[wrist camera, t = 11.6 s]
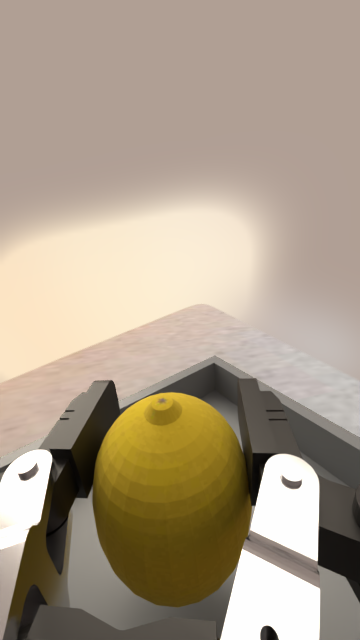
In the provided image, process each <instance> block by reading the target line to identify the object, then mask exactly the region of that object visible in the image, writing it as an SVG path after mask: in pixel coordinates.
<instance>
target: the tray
mask: <svg viewBox="0 0 360 640" xmlns="http://www.w3.org/2000/svg"><path fill="white" fill-rule="evenodd" d="M239 378H253V377H252V376H250V375H248V374H246V373H245V372H243V371H241V370H239V369H238V368H236V367H234V366H232V365H231V364H229V363H227V362H225V361H223V360H222V359H220V358H218V357H216V356H213V357H211V358H209V359H207V360H204V361H202V362H200V363H198V364H196V365H194V366H192V367H190V368H188V369H186V370H183V371H181V372H179V373H177V374H175V375H173V376H171V377H169V378H167V379H164V380H162V381H160V382H158V383H156V384H154V385H152V386H150V387H148V388H146V389H143V390H141V391H139V392H137V393H135V394H133V395H131V396H129V397H127V398H125V399H122V400H120V401H118V402H119V406H120V415H121V414H122V413H123V412H124V411H125V410H127V409H128V408H129V407H130V406H132V405H133V404H135V403H137V402H138V401H140V400H142V399H144V398H146V397H149V396H152V395H156V394H160V393H170V392H173V393H183V394H186V395H190V396H194V397H196V398H198V399H200V400H202V401H204V402H206V403H208V404H209V405H211V406H212V407H213V408H214V409H216V410H217V411H218V412H219V413H220V414H221V415H222V416H223V417H224V418H225V419H226V421H227V422H228V424H229V425H230V426H231V428H232V429H233V431H234V432H235V434H236V436H237V438H238V441H239V443H240V446H241V449H242V442H241V435H240V429H239V422H238V394H237V381H238V379H239ZM257 382H258V385H259V389H260V391H272V392H273V393H274V394H275V395H276V396H277V397H278V398H279V399H280V402H281V404H282V407H283V409H284V412H285V414H286V417H287V421H288V422H289V425H290V427H291V430H292V432H293V435H294V438H295V440H296V443H297V445H298V448H299V450H300V453H301V455H302V458H303V460H304V461H305V462H307V463H308V464H309V465H310V466H311V467H312V468H313V470H314V471H315V472H316V473H317V474H318V475H320V476H321V477H323V478H325V479H327V480H329V481H332V482H335V483H338V484H342V485H345V486H348V487H351V488H354V489H357V487H358V485H359V484H360V438H359V437H358V436H356V435H354V434H352V433H351V432H349V431H347V430H345V429H343V428H342V427H340V426H338V425H336V424H335V423H333V422H331V421H329V420H328V419H326V418H324V417H322V416H321V415H319V414H317V413H315V412H313V411H312V410H310V409H308V408H306V407H305V406H303V405H301V404H299V403H298V402H296V401H294V400H292V399H291V398H289V397H287V396H285V395H283V394H282V393H280V392H278V391H276V390H275V389H273V388H271V387H269V386H268V385H266V384H264V383H262V382H261V381H259V380H257ZM47 436H48V435H47ZM47 436H45V437H43V438H40V439H38V440H36V441H34V442H32V443H30V444H28V445H26V446H24V447H22V448H19V449H17V450H15V451H13V452H11V453H9V454H7V455H5V456H3V457H1V458H0V473H3V472H5V471H6V470H7V468H8V467H9V466H10V465H11V464H12V463H13V462H14V461H15V460H16V459H18V458H19V457H21V456H22V455H24V454H26V453H28V452H31V451H35V450H38V448H39V447H40V445H41V444H42V443H43V441H44V440H45V438H46V437H47ZM242 451H243V449H242ZM92 493H93V486H92V489H91V491H90V494H89V496H88V498H76V499H75V501H74V503H73V505H72V507H71V508H72V511H73V522H72V533H71V545H70V557H69V568H68V593H69V599H70V608H80V609H82V610H84V611H86V612H88V613H89V614H91V615H93V616H95V617H96V618H98V619H100V620H102V621H104V622H105V623H107V624H109V625H111V626H112V627H114V628H116V629H118V630H127V629H131V628H134V627H138V626H141V625H145V624H148V623H152V622H155V621H158V620H162V619H165V618H169V617H174V618H185V619H195V620H206V621H216V625H217V637H218V638H220V639H221V635H222V631H223V627H224V623H225V619H226V615H227V610H228V606H229V602H230V598H231V594H232V590H233V585H234V581H235V577H236V573H237V569H238V565H239V561H240V559H239V561H238V563H237V566H236V568H235V570H234V571H233V572H232V574H231V575H230V576H229V577H228V578H227V580H226V581H225V582H224V583H223V584H222V586H221V587H220V588H219V589H218V590H217V591H215V592H214V593H212V594H211V595H209V596H208V597H206V598H205V599H203V600H202V601H200V602H198V603H194V604H190V605H186V606H182V607H168V606H159V605H155V604H153V603H151V602H149V601H147V600H145V599H143V598H141V597H139V596H137V595H135V594H134V593H133V592H132V591H131V590H130V589H129V588H128V587H127V586H126V585H125V584H124V583H123V582H122V581H121V580H120V579H119V578H118V577H117V576H116V574H115V573H114V571H113V570H112V568H111V566H110V564H109V562H108V560H107V558H106V556H105V554H104V552H103V550H102V547H101V545H100V542H99V539H98V535H97V529H96V524H95V518H94V513H93V504H92ZM255 507H256V506H252V514H251V520H250V527H249V533H250V529H251V525H252V520H253V516H254V512H255ZM249 533H248V536H249ZM318 571H319V574H320V628H319V640H360V603H359V601H358V599H357V597H356V595H355V593H354V592H353V590H352V588H351V586H350V584H349V582H348V581H347V579H346V577H344V576H341V575H339V574H337V573H335V572H332V571H330V570H328V569H326V568H323V567H321V566H319V565H318Z"/></svg>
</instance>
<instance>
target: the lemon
mask: <svg viewBox="0 0 360 640" xmlns="http://www.w3.org/2000/svg"><path fill="white" fill-rule="evenodd" d="M92 504H93V513H94V518H95V524H96V529H97V535H98V539H99V542H100V545H101V547H102V550H103V552H104V554H105V556H106V558H107V560H108V562H109V564H110V566H111V568H112V570H113V571H114V573H115V574H116V576H117V577H118V578H119V579H120V580H121V581H122V582H123V583H124V584H125V585H126V586H127V587H128V588H129V589H130V590H131V591H132V592H133V593H134V594H135V595H137V596H139V597H141V598H143V599H145V600H147V601H149V602H151V603H153V604H155V605H159V606H168V607H182V606H186V605H190V604H194V603H198V602H200V601H202V600H203V599H205V598H206V597H208V596H209V595H211V594H212V593H214V592H215V591H217V590H218V589H219V588H220V587H221V586H222V584H223V583H224V582H225V581H226V580H227V578H228V577H229V576H230V575H231V574H232V572H233V571H234V570H235V568H236V566H237V563H238V561H239V559H240V556H241V552H242V549H243V545H244V542H245V539H246V537H248V533H249V527H250V520H251V514H252V506H251V501H250V495H249V484H248V475H247V467H246V460H245V457H244V454H243V451H242V449H241V446H240V443H239V441H238V438H237V436H236V434H235V432H234V431H233V429H232V428H231V426H230V425H229V424H228V422H227V421H226V419H225V418H224V417H223V416H222V415H221V414H220V413H219V412H218V411H217V410H216V409H214V408H213V407H212V406H211V405H209V404H208V403H206V402H204V401H202V400H200V399H198V398H196V397H194V396H190V395H186V394H183V393H173V392H170V393H160V394H156V395H152V396H149V397H146V398H144V399H142V400H140V401H138V402H137V403H135V404H133V405H132V406H130V407H129V408H128V409H127V410H125V411H124V412H123V413H122V414H121V415H120V416H119V417H118V418H117V419H116V421H115V422H114V423H113V425H112V426H111V428H110V429H109V430H108V432H107V434H106V436H105V437H104V439H103V442H102V445H101V447H100V450H99V452H98V455H97V459H96V463H95V470H94V480H93V493H92Z"/></svg>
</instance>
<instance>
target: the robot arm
mask: <svg viewBox="0 0 360 640" xmlns="http://www.w3.org/2000/svg"><path fill="white" fill-rule="evenodd" d="M237 394H238V422H239V429H240V435H241V442H242V449H243V454H244V457H245V460H246V467H247V475H248V484H249V495H250V501H251V506H256V507H255V512H254V516H253V520H252V525H251V529H250V533H249V536H248V537H246V539H245V542H244V545H243V549H242V552H241V556H240V561H239V565H238V569H237V573H236V577H235V581H234V585H233V590H232V594H231V598H230V602H229V606H228V610H227V615H226V619H225V623H224V627H223V631H222V635H221V639H220V638H218V637H217V625H216V621H206V620H195V619H185V618H174V617H169V618H165V619H162V620H158V621H155V622H152V623H148V624H145V625H141V626H138V627H134V628H131V629H127V630H118V629H116V628H114V627H112V626H111V625H109V624H107V623H105V622H104V621H102V620H100V619H98V618H96V617H95V616H93V615H91V614H89V613H88V612H86V611H84V610H82V609H80V608H70V599H69V593H68V568H69V557H70V545H71V533H72V522H73V511H72V508H71V507H72V505H73V503H74V501H75V499H76V498H88V496H89V494H90V491H91V489H92V486H93V480H94V470H95V463H96V459H97V455H98V452H99V450H100V447H101V445H102V442H103V439H104V437H105V436H106V434H107V432H108V430H109V429H110V428H111V426H112V425H113V423H114V422H115V421H116V419H117V418H118V417H119V416H120V406H119V402H118V397H117V393H116V388H115V384H114V382H113V381H112V380H106V381H94V382H93V383H92V385H91V386H90V388H89V389H88V391H87V392H86V393H81V394H80V395H79V396H78V397H76V398H75V399H74V400H72V402H71V403H70V404H69V406H68V407H67V409H66V410H65V412H64V413H63V414H62V416H61V417H60V420H58V421H57V423H56V424H55V426H54V427H53V428H52V430H51V431H50V433H49V434H48V436H47V437H46V438H45V440H44V441H43V443H42V444H41V445H40V447H39V448H38V450H35V451H31V452H28V453H26V454H24V455H22V456H21V457H19V458H18V459H16V460H15V461H14V462H13V463H12V464H11V465H10V466H9V467H8V468H7V470H6V471H5V472H3V473H0V640H319V628H320V574H319V571H318V565H319V566H321V567H323V568H326V569H328V570H330V571H332V572H335V573H337V574H339V575H341V576H344V577H346V579H347V581H348V582H349V584H350V586H351V588H352V590H353V592H354V593H355V595H356V597H357V599H358V601H359V603H360V484H359V485H358V487H357V489H354V488H351V487H348V486H345V485H342V484H338V483H335V482H332V481H329V480H327V479H325V478H323V477H321V476H320V475H318V474H317V473H316V472H315V471H314V470H313V468H312V467H311V466H310V465H309V464H308V463H307V462H305V461H304V460H303V458H302V455H301V453H300V450H299V448H298V445H297V443H296V440H295V438H294V435H293V432H292V430H291V427H290V425H289V422H288V421H287V417H286V414H285V412H284V409H283V407H282V404H281V402H280V399H279V398H278V397H277V396H276V395H275V394H274V393H273V392H272V391H260V389H259V385H258V382H257V379H256V378H239V379H238V381H237Z"/></svg>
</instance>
